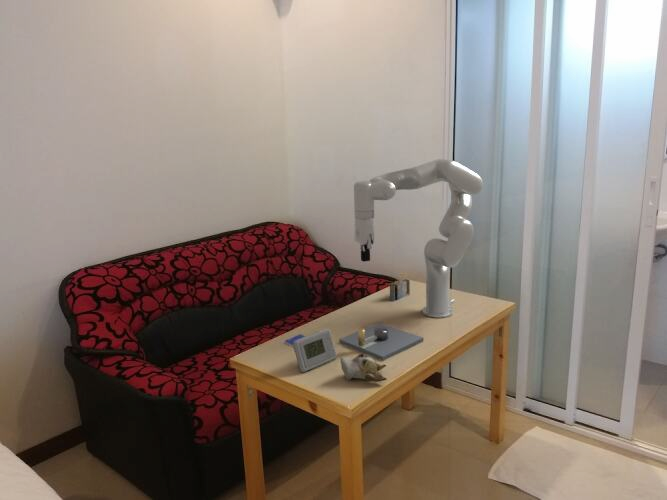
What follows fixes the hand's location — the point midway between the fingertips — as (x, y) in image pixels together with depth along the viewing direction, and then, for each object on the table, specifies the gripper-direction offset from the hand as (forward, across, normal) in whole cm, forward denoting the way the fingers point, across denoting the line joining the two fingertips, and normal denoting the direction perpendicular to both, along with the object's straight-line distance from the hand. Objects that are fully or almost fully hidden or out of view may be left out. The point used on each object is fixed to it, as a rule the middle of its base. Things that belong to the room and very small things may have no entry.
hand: (365, 260), depth 217 cm
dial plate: (+27, +17, -1) cm, 32 cm away
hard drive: (+28, +7, -28) cm, 40 cm away
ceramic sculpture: (+28, +41, -17) cm, 52 cm away
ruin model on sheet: (+28, -25, +26) cm, 46 cm away
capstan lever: (+25, +19, -5) cm, 32 cm away
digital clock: (+27, +25, -28) cm, 47 cm away
